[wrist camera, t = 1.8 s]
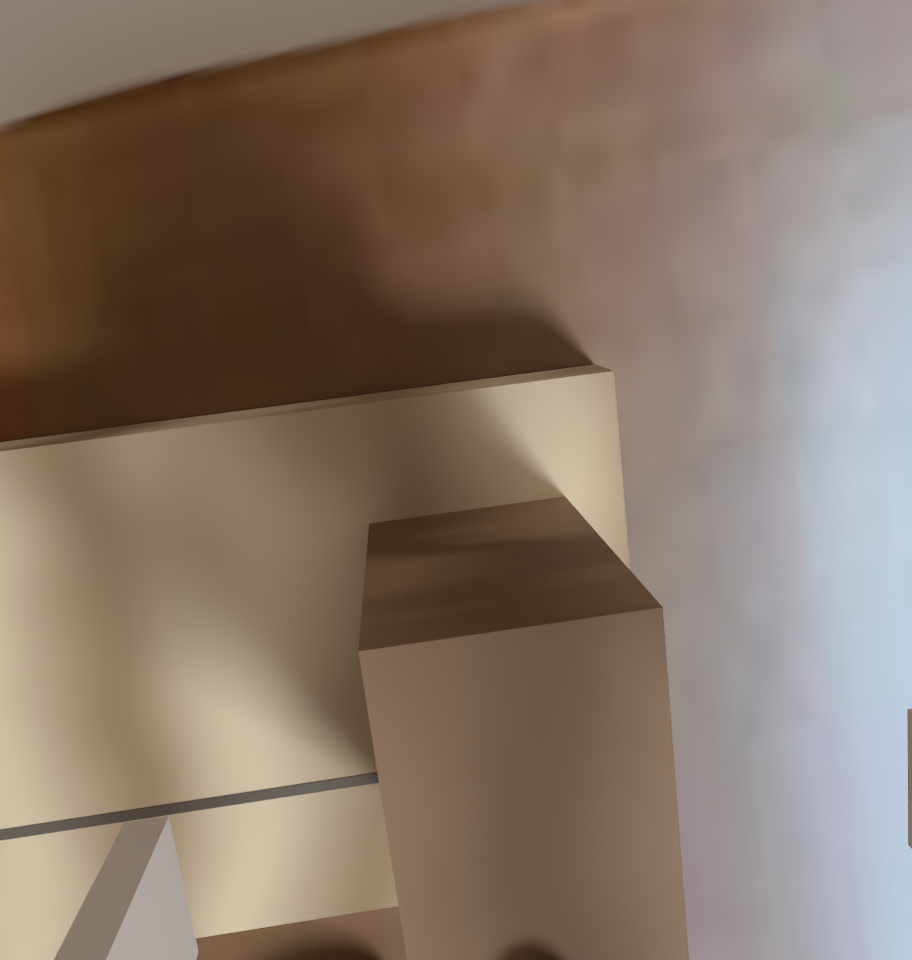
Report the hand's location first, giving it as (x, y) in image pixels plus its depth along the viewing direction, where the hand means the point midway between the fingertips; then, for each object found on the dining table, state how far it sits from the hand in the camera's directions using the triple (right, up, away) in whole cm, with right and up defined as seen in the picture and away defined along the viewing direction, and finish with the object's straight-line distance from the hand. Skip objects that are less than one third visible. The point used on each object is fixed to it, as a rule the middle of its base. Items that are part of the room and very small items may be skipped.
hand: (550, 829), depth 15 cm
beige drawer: (-1, +1, +7) cm, 8 cm away
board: (-11, +1, +9) cm, 14 cm away
